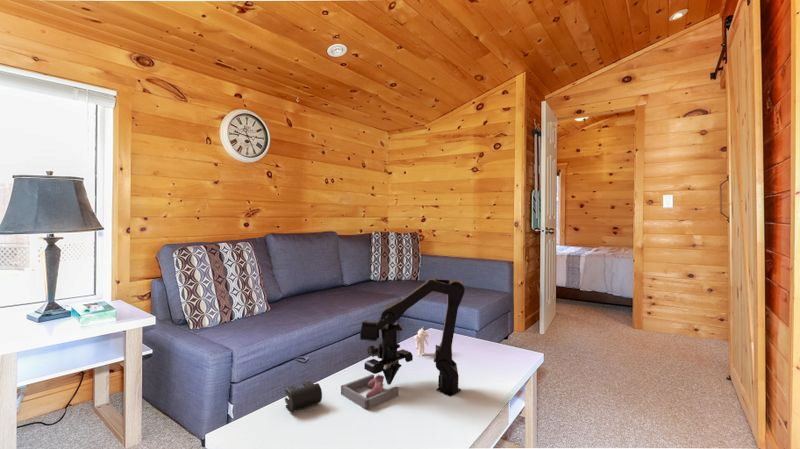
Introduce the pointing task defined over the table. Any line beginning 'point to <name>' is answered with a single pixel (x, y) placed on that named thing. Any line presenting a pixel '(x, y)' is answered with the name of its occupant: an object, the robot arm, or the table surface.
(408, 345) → the table surface
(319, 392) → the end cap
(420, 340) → the flower shoulder figurine
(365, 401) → the sorting bay
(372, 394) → the pink curved piece
